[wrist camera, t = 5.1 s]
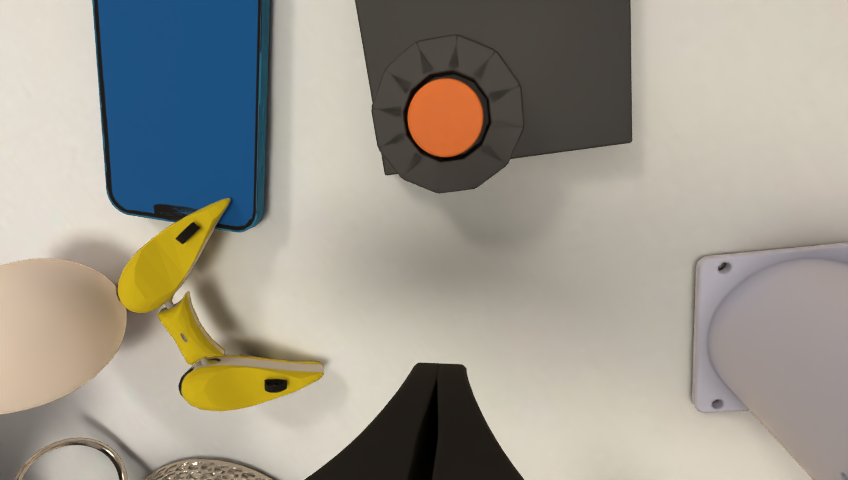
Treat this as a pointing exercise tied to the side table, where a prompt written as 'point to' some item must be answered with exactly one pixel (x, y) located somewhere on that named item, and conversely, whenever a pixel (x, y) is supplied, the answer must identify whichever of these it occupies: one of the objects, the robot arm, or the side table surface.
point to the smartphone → (184, 106)
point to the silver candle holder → (189, 476)
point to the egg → (54, 330)
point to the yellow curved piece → (211, 376)
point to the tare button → (445, 117)
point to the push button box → (499, 79)
